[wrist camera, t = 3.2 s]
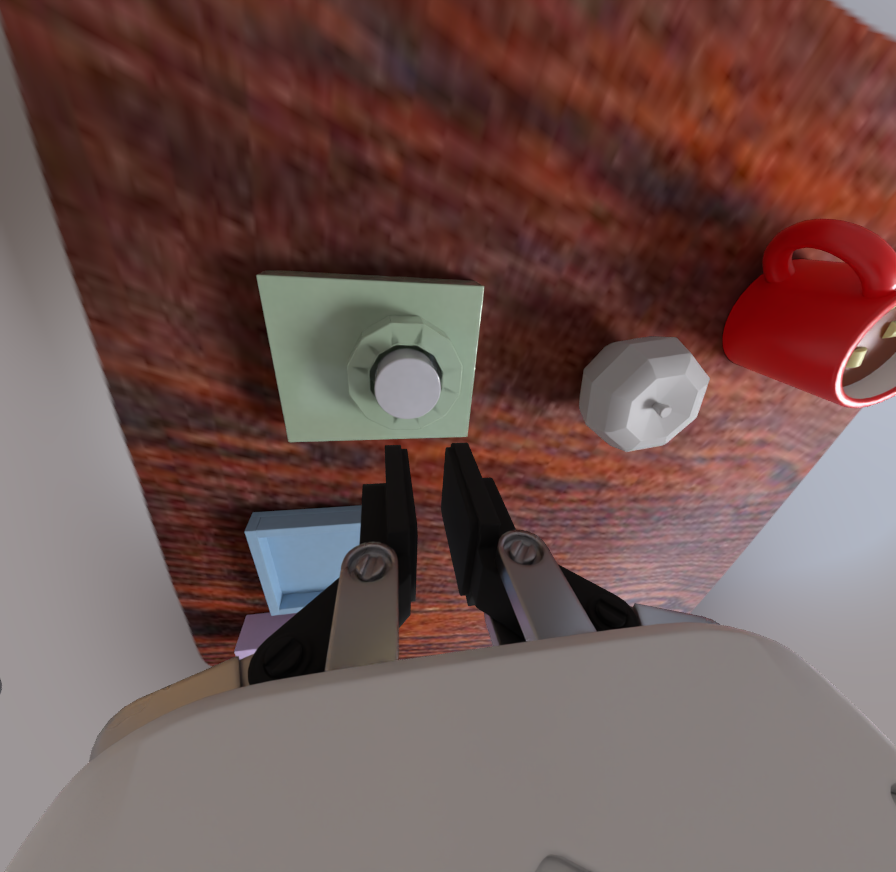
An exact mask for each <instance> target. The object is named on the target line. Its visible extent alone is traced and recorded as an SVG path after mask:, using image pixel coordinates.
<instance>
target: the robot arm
mask: <svg viewBox="0 0 896 872" xmlns="http://www.w3.org/2000/svg"><path fill="white" fill-rule="evenodd" d="M385 468H386V483H380V484H363V489H362V507H361V526H360V544H359V545H358V546H355V547H354V548H353V549H351V550H350V551H349V552H348V553H347V554H346V556H345V557H344V559H343V562H342V565H341V571H340V577H339V578H338V579H337V580H335V581H334V582H333V583H332V584H331V585H330V586H328V587H327V588H326V589H325V590H324V591H323V592H321V593H320V594H319V595H318V596H317V597H315V598H314V599H313V600H312V601H311V602H310V603H308V604H307V605H306V606H305V607H304V608H302V609H301V610H300V611H299V612H298V613H297V614H295V615H294V616H293V617H292V618H291V619H289V620H288V621H287V622H286V623H285V624H284V625H282V626H281V627H280V628H279V629H278V630H277V631H275V632H274V633H273V634H272V635H271V636H269V637H268V638H267V639H266V640H265V641H264V642H263V643H262V644H261V645H260V646H259V647H258V648H257V650H256V651H255V653H254V654H252V655H250V656H247V657H245V658H243V659H240V658H239V656H236V657H234V658H232V659H229V660H227V661H225V662H222V663H220V664H218V665H215V666H213V667H211V668H209V669H206V670H204V671H202V672H200V673H197V674H195V675H192V676H190V677H188V678H185V679H183V680H181V681H179V682H176V683H174V684H172V685H169V686H167V687H165V688H162V689H160V690H158V691H155V692H153V693H151V694H148V695H146V696H144V697H142V698H139V699H137V700H136V701H134V702H132V703H130V704H129V705H127V706H125V707H124V708H122V709H121V710H120V711H119V712H118V713H117V714H116V715H115V716H113V717H112V718H111V719H110V720H109V721H108V723H107V724H106V725H105V727H104V728H103V729H102V731H101V732H100V733H99V735H98V736H97V739H96V741H95V744H94V746H93V748H92V751H91V755H90V760H89V763H88V764H87V765H86V766H85V767H84V768H82V770H80V771H79V772H78V773H77V774H76V775H75V776H74V777H73V778H72V780H71V781H70V782H69V783H68V784H67V785H66V786H65V787H64V788H63V789H62V790H61V792H60V793H59V794H58V795H57V797H56V798H55V799H54V800H53V802H52V803H51V804H50V806H49V807H48V808H47V810H46V811H45V812H44V814H43V815H42V816H41V818H40V819H39V820H38V822H37V823H36V825H35V826H34V828H33V829H32V831H31V832H30V833H29V835H28V836H27V838H26V839H25V841H24V842H23V844H22V845H21V846H20V848H19V850H18V851H17V853H16V854H15V856H14V857H13V859H12V861H11V862H10V863H9V865H8V867H7V868H6V870H5V871H4V872H896V746H895V745H894V744H893V743H892V742H891V741H890V740H889V739H888V738H887V737H886V736H885V735H884V734H883V733H882V732H881V731H880V730H879V729H878V728H877V727H876V726H875V725H874V724H873V723H872V722H871V721H870V720H869V719H868V718H867V717H866V716H865V715H864V714H863V713H862V712H861V711H860V710H859V709H858V708H857V707H856V706H855V705H854V704H853V703H852V702H851V701H850V700H849V699H848V698H847V697H846V696H845V695H843V694H842V693H841V692H840V691H839V690H838V689H837V688H836V687H835V686H834V685H832V684H831V682H829V681H828V680H827V679H826V678H825V677H824V676H823V675H822V674H821V673H820V672H818V671H817V670H816V669H815V668H814V667H813V666H812V665H810V664H809V663H808V662H807V661H805V660H804V659H803V658H802V657H800V656H799V655H798V654H796V653H795V652H793V651H792V650H790V649H789V648H787V647H785V646H783V645H782V644H780V643H778V642H776V641H774V640H771V639H769V638H767V637H764V636H761V635H759V634H756V633H753V632H749V631H746V630H742V629H737V628H734V627H730V626H724V625H720V624H719V623H717V622H715V621H713V620H712V619H709V618H706V617H703V616H697V615H692V614H688V613H683V612H677V611H672V610H667V609H662V608H657V607H652V606H647V605H641V604H636V603H635V604H634V606H633V607H631V606H629V605H628V604H627V603H626V602H625V601H624V600H622V599H621V598H619V597H618V596H616V595H614V594H613V593H611V592H609V591H607V590H605V589H603V588H601V587H599V586H598V585H596V584H594V583H592V582H590V581H588V580H586V579H584V578H583V577H581V576H579V575H577V574H575V573H573V572H571V571H569V570H568V569H566V568H564V567H562V566H560V565H558V564H557V562H556V561H555V559H554V557H553V555H552V554H551V552H550V550H549V549H548V547H547V545H546V544H545V543H544V541H543V540H542V539H540V538H539V537H538V536H537V535H535V534H533V533H531V532H528V531H524V530H516V529H515V527H514V524H513V522H512V520H511V518H510V516H509V513H508V511H507V509H506V507H505V505H504V502H503V500H502V498H501V496H500V493H499V491H498V489H497V487H496V485H495V482H494V481H493V479H492V478H482V476H481V474H480V471H479V469H478V466H477V464H476V462H475V459H474V457H473V454H472V452H471V449H470V447H469V445H468V443H452V444H451V447H446V451H445V463H444V476H443V489H442V502H441V511H442V517H443V522H444V526H445V531H446V535H447V540H448V544H449V549H450V553H451V558H452V562H453V567H454V571H455V576H456V580H457V585H458V589H459V593H460V595H461V596H463V595H466V599H467V603H468V606H473V605H475V606H476V607H477V608H478V609H480V610H481V611H483V612H484V617H485V622H486V625H487V628H488V631H489V635H490V638H491V641H492V644H493V647H486V648H479V649H473V650H466V651H459V652H452V653H445V654H438V655H432V656H425V657H418V658H412V659H405V660H399V627H400V626H401V625H402V624H403V623H404V622H405V621H406V619H407V618H408V617H409V616H410V608H411V602H412V601H415V598H416V568H417V537H418V535H417V520H416V513H415V505H414V498H413V490H412V483H411V475H410V468H409V460H408V452H407V449H401V445H386V446H385Z"/></svg>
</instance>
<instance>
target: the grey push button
mask: <svg viewBox="0 0 896 872" xmlns="http://www.w3.org/2000/svg"><path fill="white" fill-rule="evenodd" d="M374 391H375V397H376V400H377V402H378V403H379V405H380V406H381V408H382V409H383V410H384V411H385V412H387V413H388V414H390V415H392V416H394V417H397V418H401V419H414V418H418V417H421V416H423V415H425V414H426V413H428V412H429V411H430V410H431V409H432V408H433V407H434V406H435V405H436V403H437V401H438V399H439V397H440V392H441V383H440V379H439V376H438V374H437V371H436V369H435V367H434V364H433V363H432V361H431V360H430V359H429V358H428V357H427V356H426V355H425V354H423V353H422V352H420V351H417V350H414V349H408V348H403V349H397V350H394V351H392V352H390V353H388V354H387V355H385V356H384V357H383V358H382V359H381V360H380V362H379V363H378V365H377V367H376V370H375V380H374Z"/></svg>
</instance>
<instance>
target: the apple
mask: <svg viewBox="0 0 896 872" xmlns="http://www.w3.org/2000/svg"><path fill="white" fill-rule="evenodd" d="M709 379H710V378H709V377H708V376H707V374H706V373H705V372H704V370H703V369H702V368H701V366H700V365H699V364H698V362H697V361H696V360H695V358H694V357H693V355H692V354H691V353H690V352H689V351H688V350H687V348H686V347H685V346H684V345H683V344H682V343H681V342H680V341H679V340H678V339H677V338H676V337H654V336H649V337H643V338H637V339H631V340H625V341H618V342H613V343H611V344H609V345H607V346H605V347H604V348H603V349H602V350H601V351H600V352H599V354H598V355H597V356H596V357H595V358H594V359H593V360H592V361H591V362H590V363H589V364H588V365H587V366H586V367H585V368H584V371H583V378H582V384H581V391H580V401H579V409H580V411H581V414H582V416H583V419H584V421H585V424H586V425H587V426H588V427H589V428H591V429H592V430H593V431H594V432H595V433H596V434H597V435H599V436H600V437H601V438H602V439H603V440H604V441H605V442H607V443H608V444H609V445H610V446H613V447H615V448H618V449H621V450H623V451H626V452H628V451H634V450H639V449H645V448H650V447H656V446H662V445H664V444H666V443H667V442H668V441H670V440H671V439H672V438H673V437H674V436H675V435H677V434H678V433H679V432H680V431H681V430H682V429H684V428H685V427H686V426H687V425H688V424H690V423H691V422H692V421H693V420H694V419H695V418H696V417H697V415H698V412H699V409H700V406H701V403H702V400H703V397H704V394H705V391H706V388H707V385H708V382H709Z"/></svg>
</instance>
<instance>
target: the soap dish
mask: <svg viewBox="0 0 896 872" xmlns="http://www.w3.org/2000/svg"><path fill="white" fill-rule="evenodd" d="M361 507H362V505H359V506H344V507H328V508H313V509H297V510H281V511H266V512H253V513H252V515H251V518H250V520H249V522H248V524H247V527H246V529H245V531H244V532H245V535H246V538H247V542H248V545H249V548H250V551H251V554H252V557H253V560H254V563H255V566H256V570H257V573H258V576H259V579H260V582H261V585H262V588H263V591H264V594H265V598H266V601H267V604H268V607H269V610H270V613H271V616H275V615H283V614H292V613H298V612H299V611H300V610H301V609H302V608H304V607H305V606H306V605H307V604H308V603H310V602H311V601H312V600H313V599H314V598H315V597H317V596H318V595H319V594H320V593H321V592H323V591H324V590H325V589H326V588H327V587H328V586H330V585H331V584H332V583H333V582H334V581H335V580H337V579H338V578H339V577H340V571H341V565H342V562H343V559H344V557H345V556H346V554H347V553H348V552H349V551H350V550H351V549H353V548H354V547H355V546H358V545H359V544H360V526H361Z"/></svg>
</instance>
